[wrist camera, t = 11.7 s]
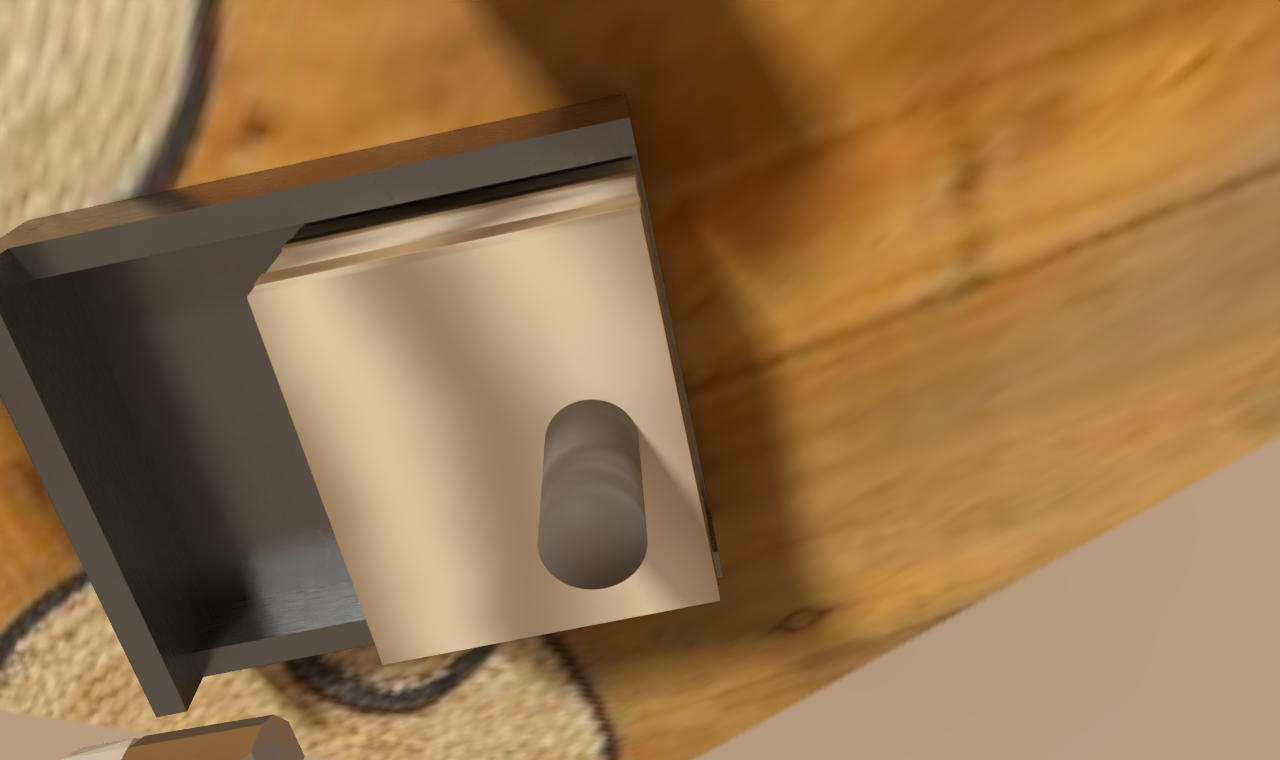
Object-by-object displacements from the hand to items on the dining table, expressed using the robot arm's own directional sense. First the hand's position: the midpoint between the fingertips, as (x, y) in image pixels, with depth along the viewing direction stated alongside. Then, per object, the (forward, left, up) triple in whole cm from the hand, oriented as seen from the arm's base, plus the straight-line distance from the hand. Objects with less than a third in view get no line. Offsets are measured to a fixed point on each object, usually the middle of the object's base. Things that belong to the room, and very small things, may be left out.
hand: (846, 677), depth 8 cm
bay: (+12, +11, -34) cm, 38 cm away
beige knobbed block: (+7, +11, -33) cm, 35 cm away
